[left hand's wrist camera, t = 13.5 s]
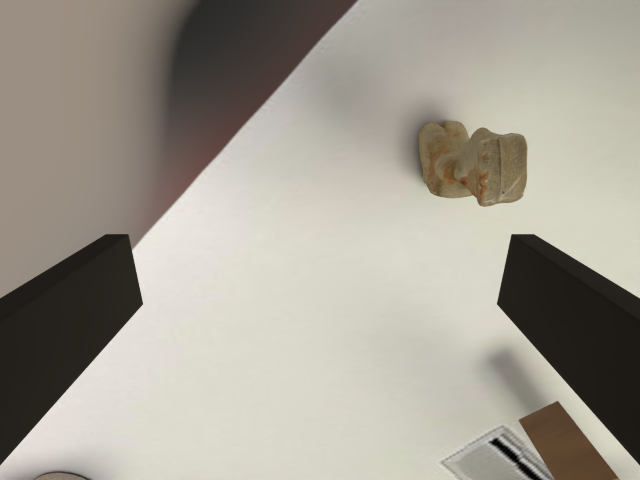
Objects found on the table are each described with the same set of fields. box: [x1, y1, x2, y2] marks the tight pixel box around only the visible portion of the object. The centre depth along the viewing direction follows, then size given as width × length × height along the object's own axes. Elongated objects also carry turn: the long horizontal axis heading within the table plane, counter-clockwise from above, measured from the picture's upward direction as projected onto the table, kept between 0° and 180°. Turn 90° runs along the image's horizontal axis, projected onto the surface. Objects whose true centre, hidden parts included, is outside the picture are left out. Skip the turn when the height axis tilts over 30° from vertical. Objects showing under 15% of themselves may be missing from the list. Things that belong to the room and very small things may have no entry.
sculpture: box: [418, 121, 527, 207], centre depth 31 cm, size 6×7×15 cm
